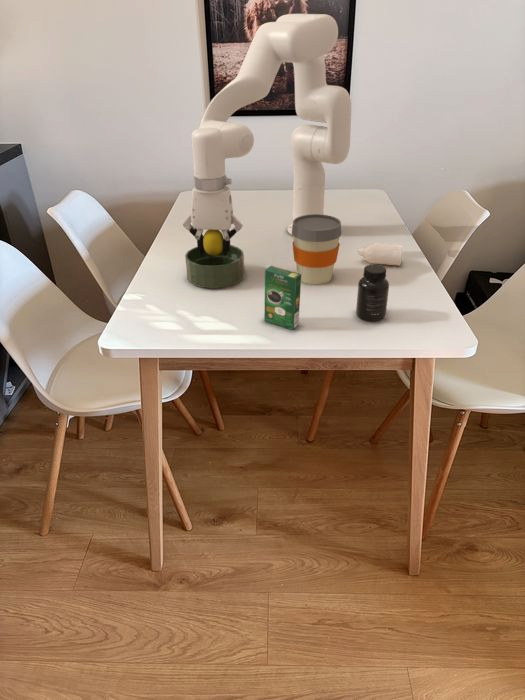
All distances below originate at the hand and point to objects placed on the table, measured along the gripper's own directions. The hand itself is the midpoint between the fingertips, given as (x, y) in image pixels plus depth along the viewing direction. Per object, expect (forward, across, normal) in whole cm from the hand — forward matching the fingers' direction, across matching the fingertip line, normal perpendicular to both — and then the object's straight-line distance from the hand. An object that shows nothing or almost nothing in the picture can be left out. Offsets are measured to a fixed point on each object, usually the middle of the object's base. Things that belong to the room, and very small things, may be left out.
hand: (214, 252), depth 145 cm
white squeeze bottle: (+7, -43, -14) cm, 46 cm away
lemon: (+1, 0, 0) cm, 1 cm away
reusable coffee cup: (+7, -26, -3) cm, 27 cm away
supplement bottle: (+7, -40, +17) cm, 44 cm away
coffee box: (+7, -20, +23) cm, 31 cm away
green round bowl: (+7, 0, 0) cm, 7 cm away
